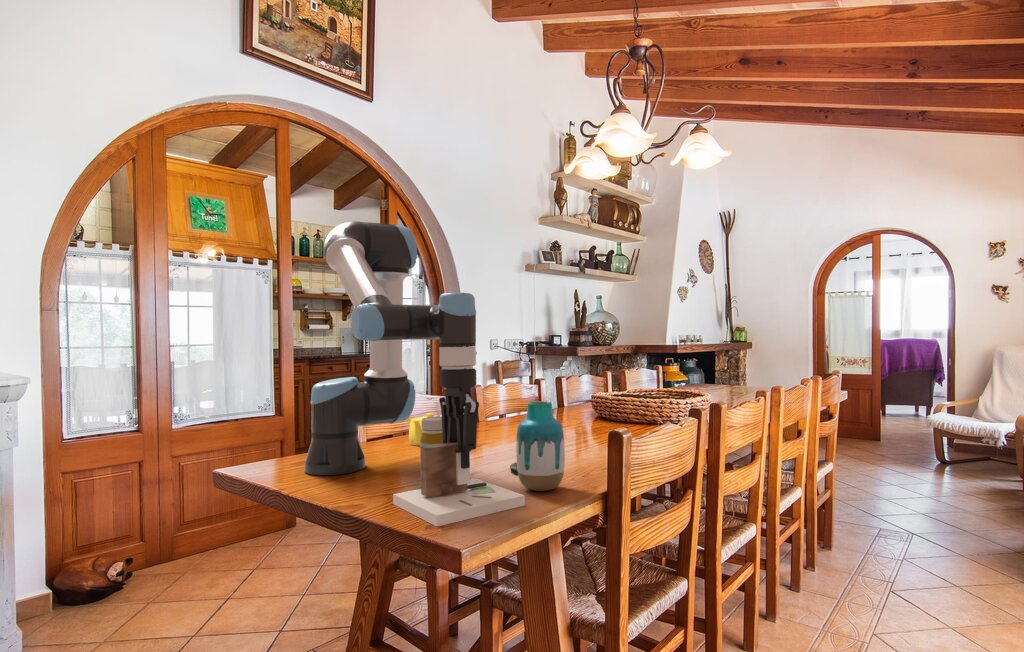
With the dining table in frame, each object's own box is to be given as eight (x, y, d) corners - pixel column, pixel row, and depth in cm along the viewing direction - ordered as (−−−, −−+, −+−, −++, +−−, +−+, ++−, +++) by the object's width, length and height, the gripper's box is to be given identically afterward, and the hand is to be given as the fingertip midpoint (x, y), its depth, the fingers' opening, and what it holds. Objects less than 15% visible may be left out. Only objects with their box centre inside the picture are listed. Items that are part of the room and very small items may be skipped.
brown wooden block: (427, 498, 112) (426, 448, 113) (420, 493, 116) (419, 446, 116) (489, 487, 120) (489, 441, 120) (481, 483, 123) (481, 438, 123)
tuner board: (393, 504, 117) (393, 493, 117) (475, 487, 129) (475, 477, 129) (436, 526, 103) (436, 514, 103) (524, 505, 115) (524, 494, 115)
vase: (529, 498, 119) (528, 406, 120) (509, 486, 129) (508, 401, 129) (574, 492, 124) (572, 403, 124) (551, 481, 133) (549, 398, 134)
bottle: (445, 487, 129) (444, 420, 129) (416, 486, 131) (415, 420, 131) (455, 480, 136) (454, 416, 136) (427, 479, 137) (426, 416, 138)
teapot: (458, 445, 179) (457, 414, 179) (413, 449, 174) (412, 417, 174) (445, 438, 193) (445, 409, 193) (403, 442, 187) (403, 412, 188)
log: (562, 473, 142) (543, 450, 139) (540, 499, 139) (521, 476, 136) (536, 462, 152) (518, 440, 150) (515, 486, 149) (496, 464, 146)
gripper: (493, 368, 114) (494, 487, 113) (456, 365, 127) (458, 472, 127) (459, 369, 110) (460, 493, 109) (425, 367, 123) (426, 477, 123)
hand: (459, 481), depth 118 cm, fingers closed on brown wooden block, 3 cm apart
